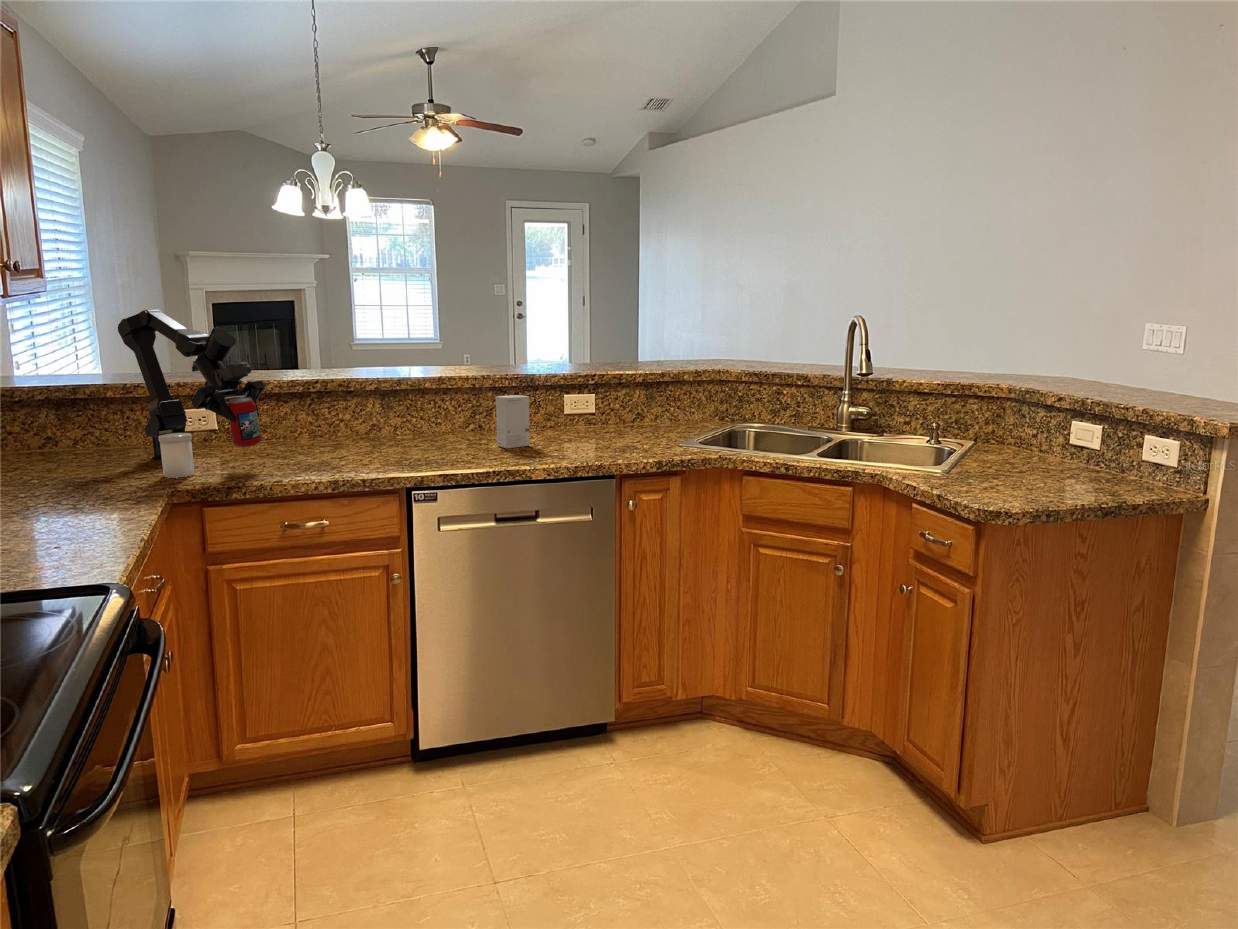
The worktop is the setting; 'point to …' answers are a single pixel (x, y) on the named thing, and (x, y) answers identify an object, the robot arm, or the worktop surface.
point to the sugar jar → (176, 455)
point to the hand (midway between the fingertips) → (246, 419)
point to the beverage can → (244, 422)
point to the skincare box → (512, 421)
